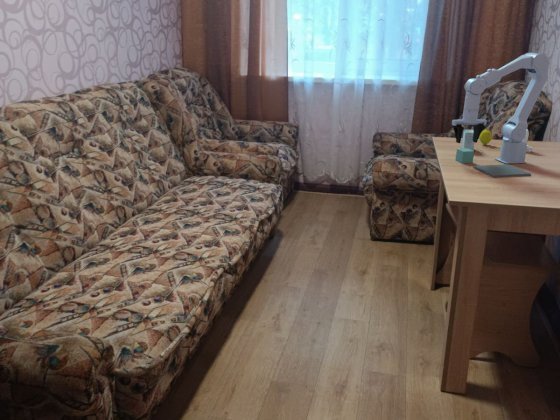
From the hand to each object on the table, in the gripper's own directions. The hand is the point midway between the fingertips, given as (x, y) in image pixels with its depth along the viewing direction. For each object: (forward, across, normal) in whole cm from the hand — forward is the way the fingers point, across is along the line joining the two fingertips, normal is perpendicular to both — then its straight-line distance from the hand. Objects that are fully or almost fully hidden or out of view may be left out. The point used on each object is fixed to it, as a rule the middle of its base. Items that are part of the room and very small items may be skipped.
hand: (466, 142), depth 221 cm
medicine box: (+8, -13, -19) cm, 25 cm away
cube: (+8, 0, 0) cm, 8 cm away
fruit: (+8, -27, -27) cm, 39 cm away
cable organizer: (+8, -37, -15) cm, 41 cm away
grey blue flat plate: (+8, -6, +17) cm, 20 cm away
